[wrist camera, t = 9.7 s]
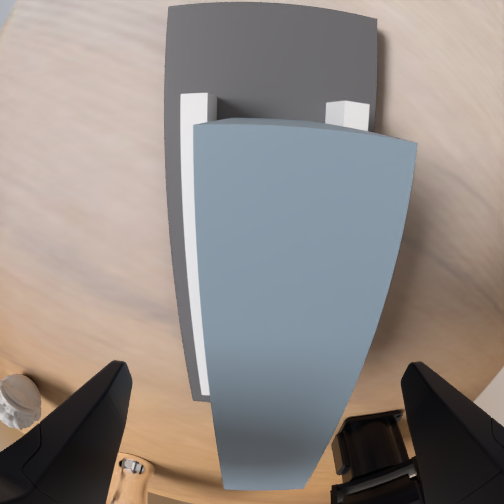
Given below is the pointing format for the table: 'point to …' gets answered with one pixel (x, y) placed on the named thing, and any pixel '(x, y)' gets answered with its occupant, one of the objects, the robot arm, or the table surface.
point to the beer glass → (130, 480)
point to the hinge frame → (251, 105)
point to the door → (291, 281)
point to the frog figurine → (19, 401)
